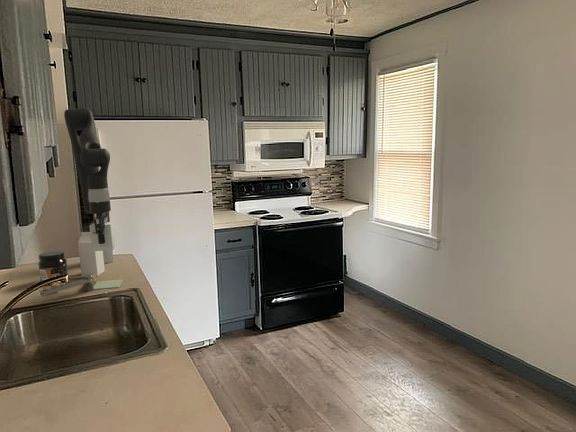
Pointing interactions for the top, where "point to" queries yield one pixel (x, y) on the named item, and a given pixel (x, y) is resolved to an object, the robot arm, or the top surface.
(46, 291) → the lever
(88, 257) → the milk carton
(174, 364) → the top surface
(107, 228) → the small box
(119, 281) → the pad
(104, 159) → the robot arm
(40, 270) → the supplement container
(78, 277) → the cradle
